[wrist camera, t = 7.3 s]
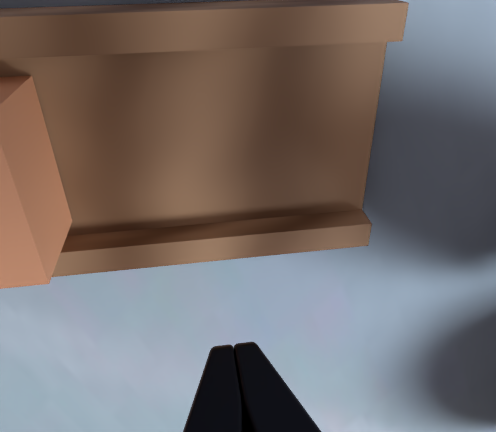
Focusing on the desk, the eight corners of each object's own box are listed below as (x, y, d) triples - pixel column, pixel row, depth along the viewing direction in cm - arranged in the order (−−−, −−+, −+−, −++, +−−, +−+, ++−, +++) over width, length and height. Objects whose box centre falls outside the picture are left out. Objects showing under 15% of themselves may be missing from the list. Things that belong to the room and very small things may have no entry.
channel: (382, -4, 16) (435, 9, 13) (351, 219, 22) (384, 270, 18) (-208, 15, 14) (-329, 37, 11) (-78, 259, 19) (-132, 325, 16)
